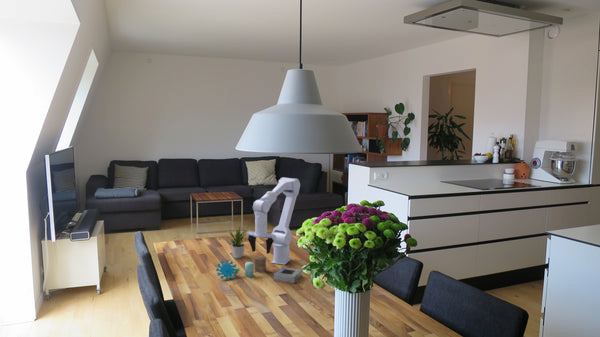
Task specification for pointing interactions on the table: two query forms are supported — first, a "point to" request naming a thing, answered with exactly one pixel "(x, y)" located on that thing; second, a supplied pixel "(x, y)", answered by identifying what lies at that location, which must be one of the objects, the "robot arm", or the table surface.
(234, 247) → the house plant
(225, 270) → the blue virus model
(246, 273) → the round dowel
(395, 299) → the table surface
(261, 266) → the square bit
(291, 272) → the socket block
